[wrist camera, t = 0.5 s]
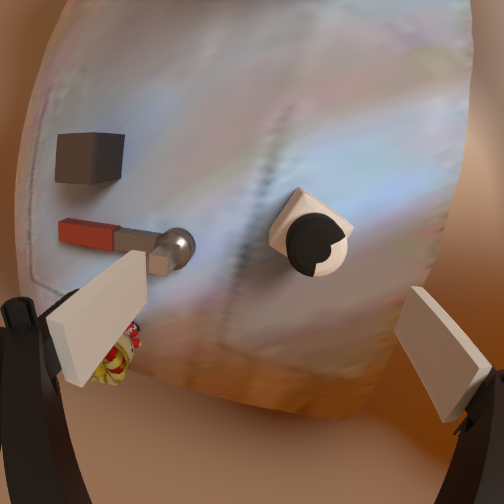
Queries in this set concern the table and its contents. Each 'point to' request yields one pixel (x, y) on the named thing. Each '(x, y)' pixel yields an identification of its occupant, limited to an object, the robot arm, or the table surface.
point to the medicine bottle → (310, 235)
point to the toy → (118, 357)
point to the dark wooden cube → (88, 157)
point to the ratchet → (133, 242)
